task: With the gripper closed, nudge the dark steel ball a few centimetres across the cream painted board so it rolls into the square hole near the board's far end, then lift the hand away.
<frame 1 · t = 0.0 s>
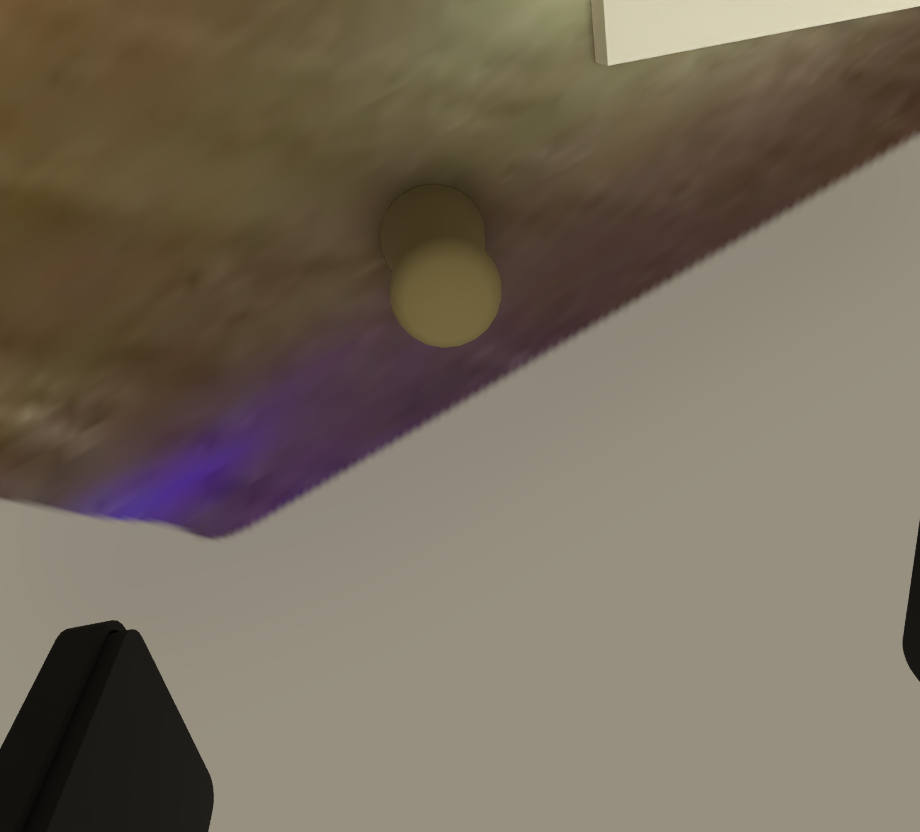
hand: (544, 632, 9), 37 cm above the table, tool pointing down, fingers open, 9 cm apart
cork: (433, 237, 44), on the table
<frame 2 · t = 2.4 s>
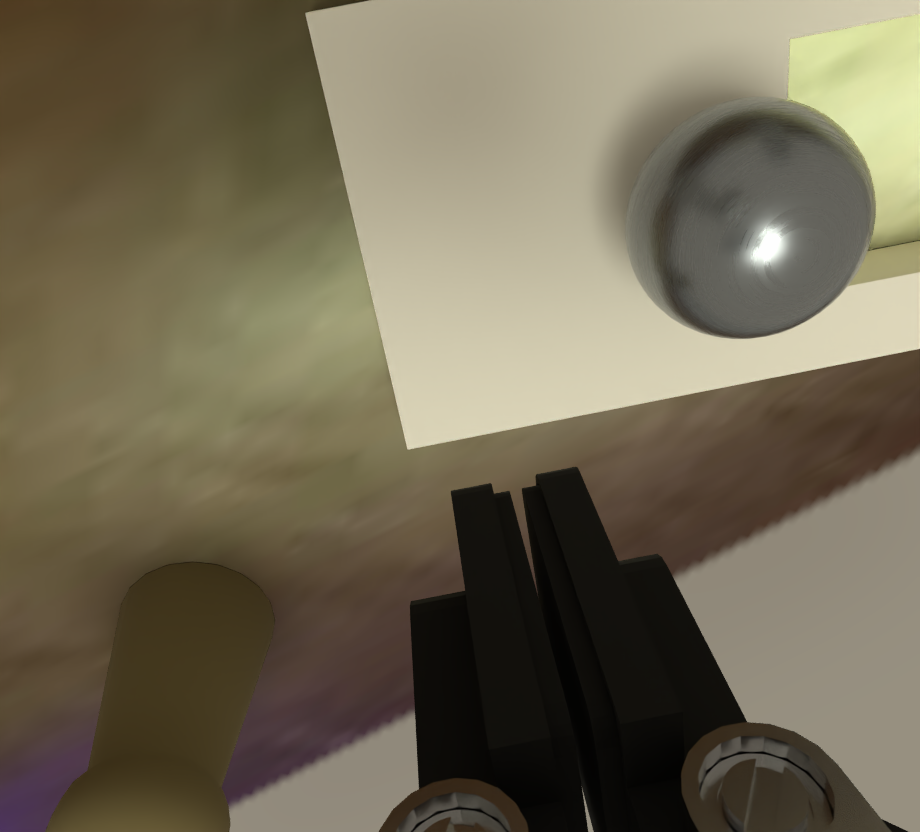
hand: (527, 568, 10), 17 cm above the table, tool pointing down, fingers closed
cork: (199, 617, 32), on the table
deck: (702, 172, 25), on the table
ball: (743, 222, 20), point 5 cm above the table, touching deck
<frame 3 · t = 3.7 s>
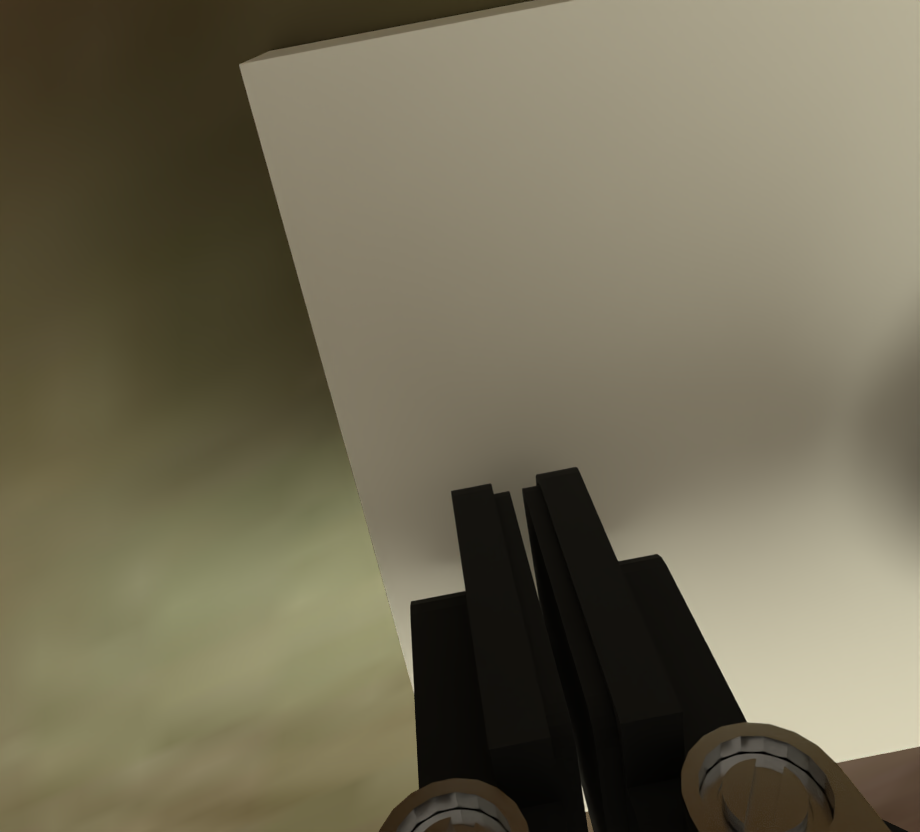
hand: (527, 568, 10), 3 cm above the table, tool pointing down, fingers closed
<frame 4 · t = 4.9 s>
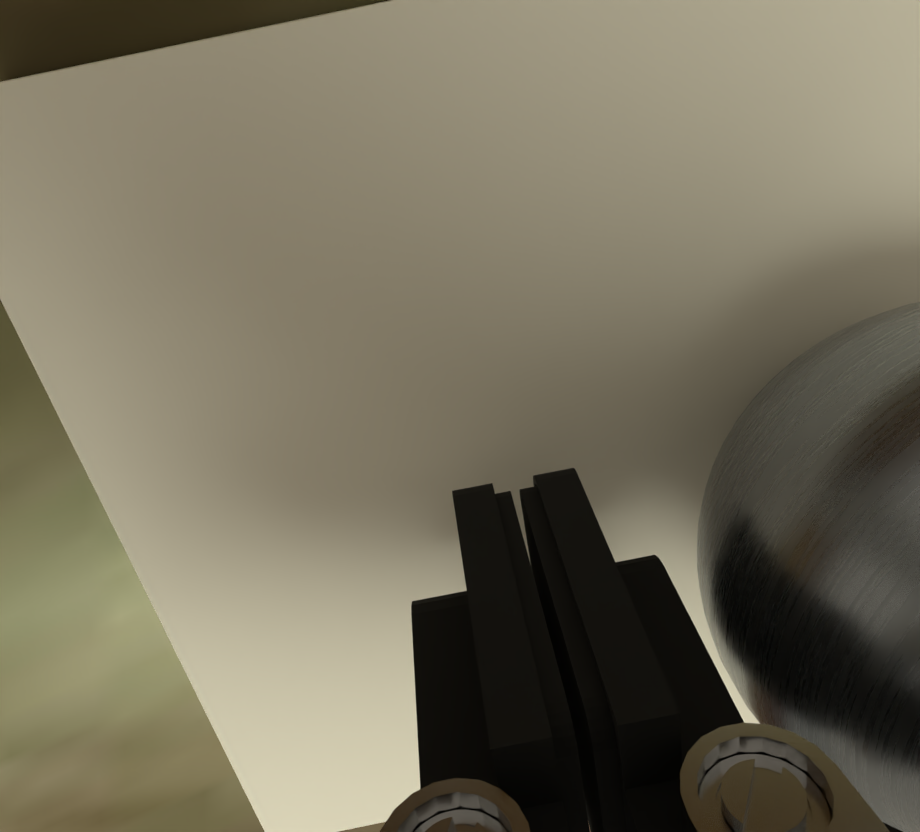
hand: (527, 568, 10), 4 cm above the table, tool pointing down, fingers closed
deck: (801, 352, 13), on the table
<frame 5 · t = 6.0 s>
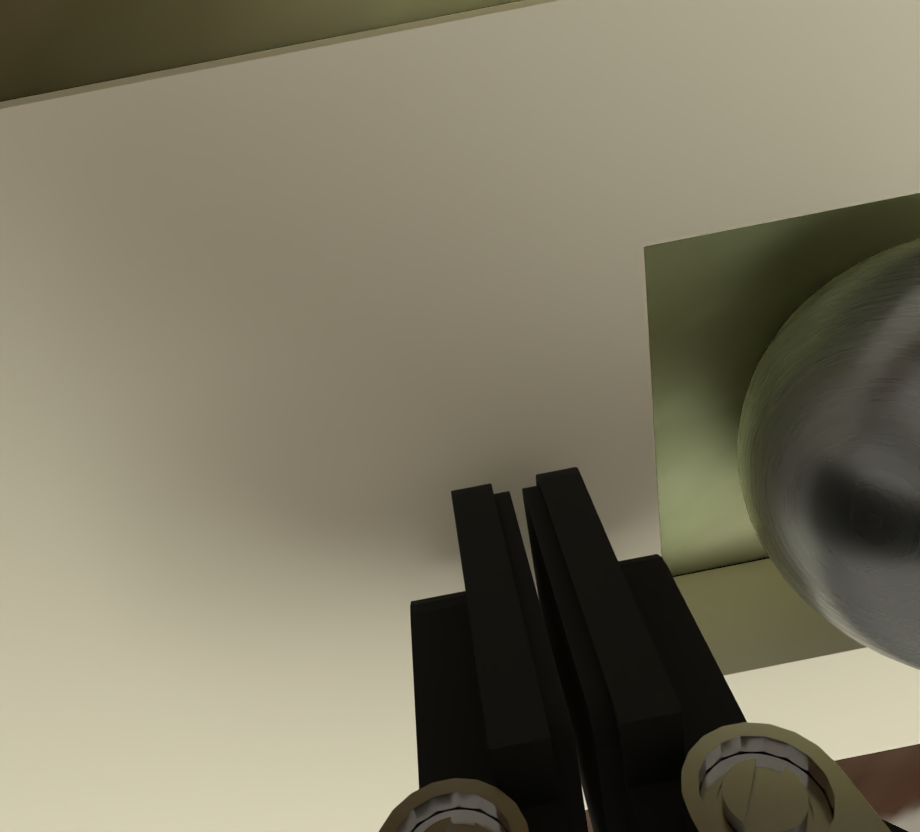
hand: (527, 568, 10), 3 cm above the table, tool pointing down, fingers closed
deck: (525, 436, 13), on the table
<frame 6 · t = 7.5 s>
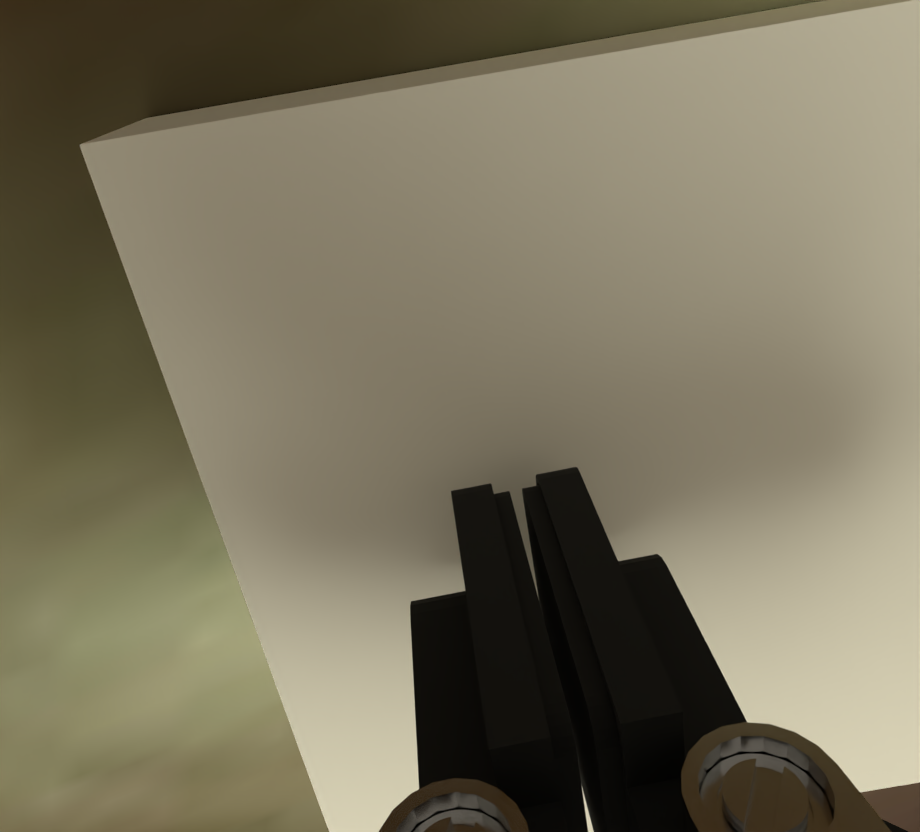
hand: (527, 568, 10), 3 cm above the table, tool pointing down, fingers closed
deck: (899, 404, 13), on the table
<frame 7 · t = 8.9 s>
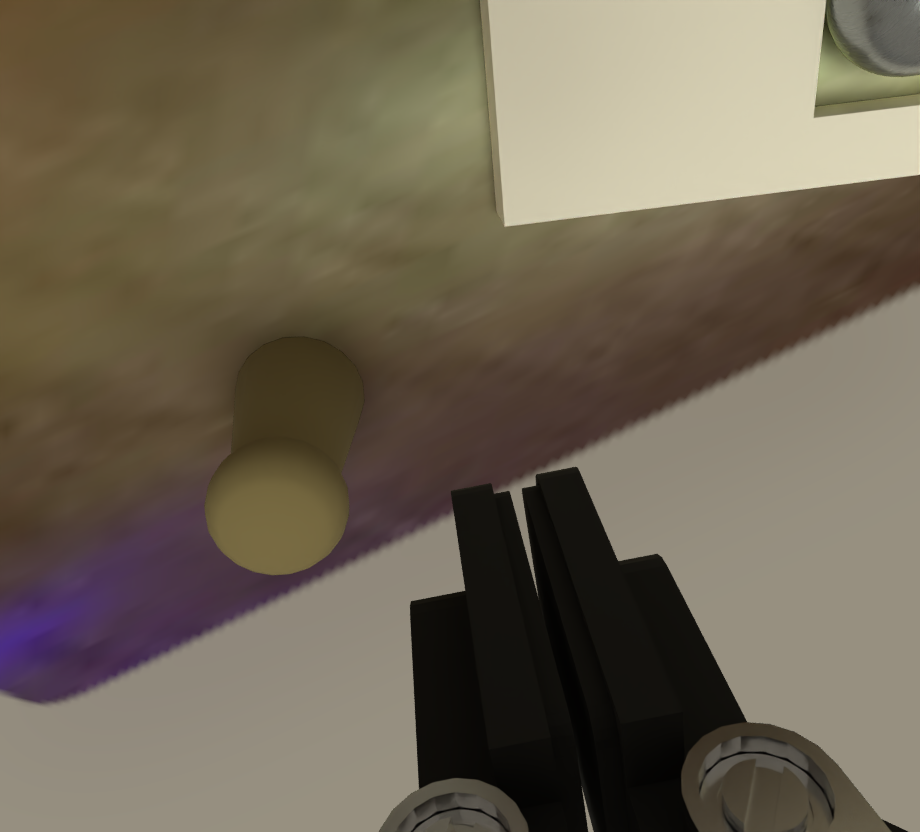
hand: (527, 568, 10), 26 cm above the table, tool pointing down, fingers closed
cork: (301, 393, 37), on the table
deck: (756, 15, 31), on the table
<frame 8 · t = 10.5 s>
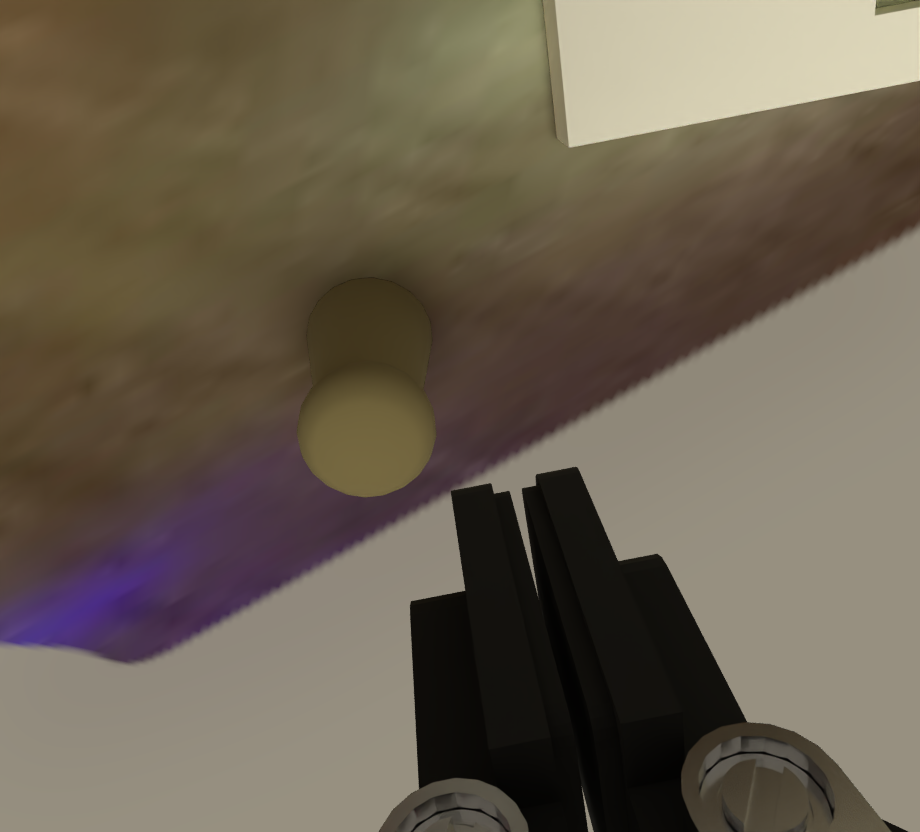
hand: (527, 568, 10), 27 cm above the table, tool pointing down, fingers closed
cork: (369, 336, 38), on the table
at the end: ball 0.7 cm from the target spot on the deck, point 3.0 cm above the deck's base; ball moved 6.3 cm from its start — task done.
